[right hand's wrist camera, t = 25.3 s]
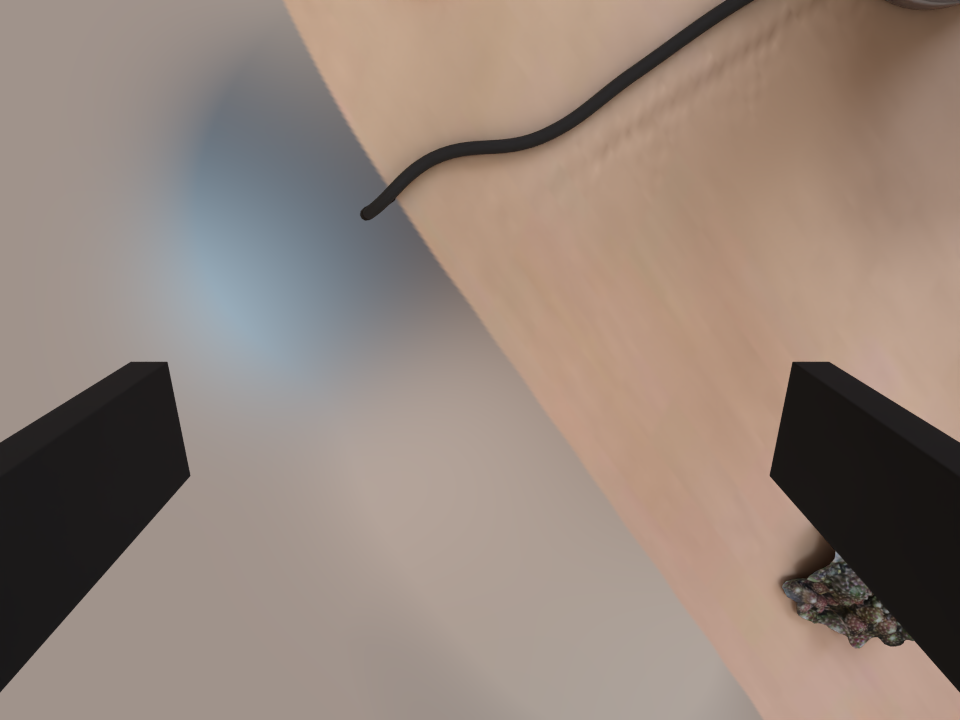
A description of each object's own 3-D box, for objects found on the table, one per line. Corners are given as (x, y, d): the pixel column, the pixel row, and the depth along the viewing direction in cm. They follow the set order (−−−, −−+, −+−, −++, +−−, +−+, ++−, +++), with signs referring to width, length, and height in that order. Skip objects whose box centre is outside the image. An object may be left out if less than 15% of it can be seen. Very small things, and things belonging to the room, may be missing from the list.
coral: (858, 511, 50) (998, 522, 53) (816, 481, 55) (945, 494, 58) (801, 666, 55) (933, 670, 57) (766, 626, 60) (889, 631, 62)
